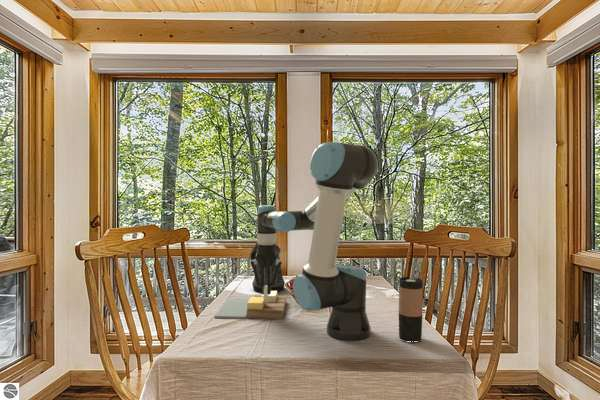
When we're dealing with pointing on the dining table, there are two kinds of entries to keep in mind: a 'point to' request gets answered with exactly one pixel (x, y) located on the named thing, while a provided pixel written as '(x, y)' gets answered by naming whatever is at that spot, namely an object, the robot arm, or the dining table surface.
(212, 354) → the dining table surface
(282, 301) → the walnut deck
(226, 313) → the slate mat
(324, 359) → the dining table surface
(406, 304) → the travel mug
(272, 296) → the ivory tile
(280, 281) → the beer stein
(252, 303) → the mustard tile
